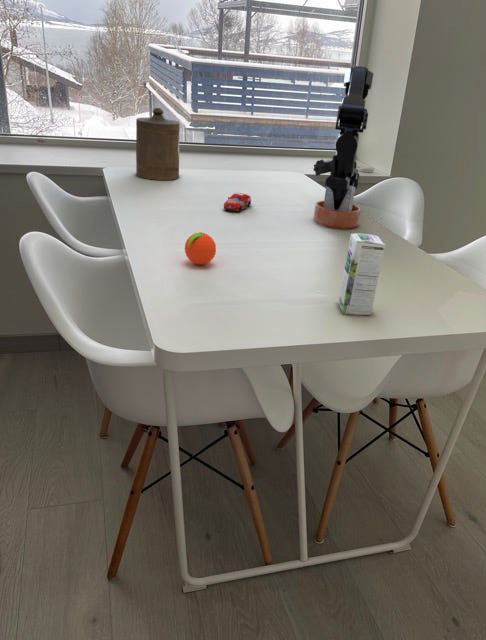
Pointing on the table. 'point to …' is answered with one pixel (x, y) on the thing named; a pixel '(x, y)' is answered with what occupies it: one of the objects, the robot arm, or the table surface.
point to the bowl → (336, 217)
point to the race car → (237, 202)
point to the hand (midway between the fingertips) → (337, 207)
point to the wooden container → (157, 147)
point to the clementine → (200, 248)
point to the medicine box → (346, 203)
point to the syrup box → (361, 274)
